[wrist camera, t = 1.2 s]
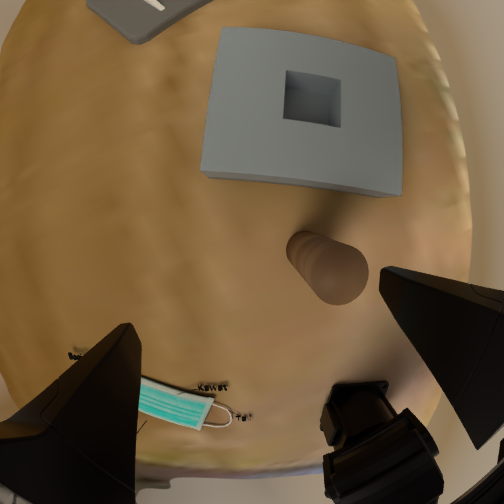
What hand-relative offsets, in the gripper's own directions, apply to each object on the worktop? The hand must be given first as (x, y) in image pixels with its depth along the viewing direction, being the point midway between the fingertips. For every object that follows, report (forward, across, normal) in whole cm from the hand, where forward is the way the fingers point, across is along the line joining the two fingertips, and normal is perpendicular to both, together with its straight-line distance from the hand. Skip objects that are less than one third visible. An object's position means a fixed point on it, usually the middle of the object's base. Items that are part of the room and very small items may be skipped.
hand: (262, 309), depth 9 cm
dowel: (+12, -5, +4) cm, 13 cm away
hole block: (+14, -7, -7) cm, 17 cm away
